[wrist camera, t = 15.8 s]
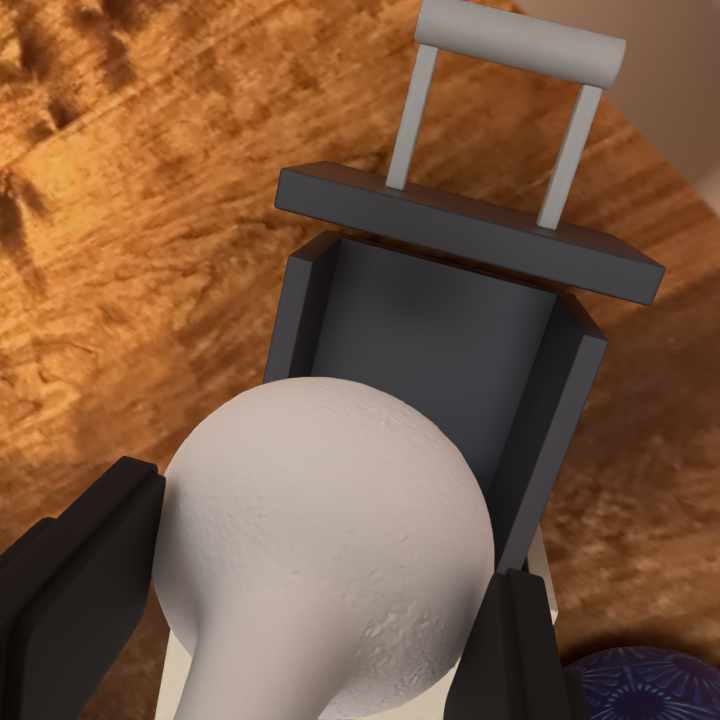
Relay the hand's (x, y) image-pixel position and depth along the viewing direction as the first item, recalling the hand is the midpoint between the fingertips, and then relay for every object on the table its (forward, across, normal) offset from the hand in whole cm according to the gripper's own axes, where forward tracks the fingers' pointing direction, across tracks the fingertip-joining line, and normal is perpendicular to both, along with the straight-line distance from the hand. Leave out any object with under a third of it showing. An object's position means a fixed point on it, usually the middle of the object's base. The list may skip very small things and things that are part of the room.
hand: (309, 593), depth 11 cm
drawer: (+17, -1, -1) cm, 18 cm away
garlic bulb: (+3, 0, 0) cm, 3 cm away
